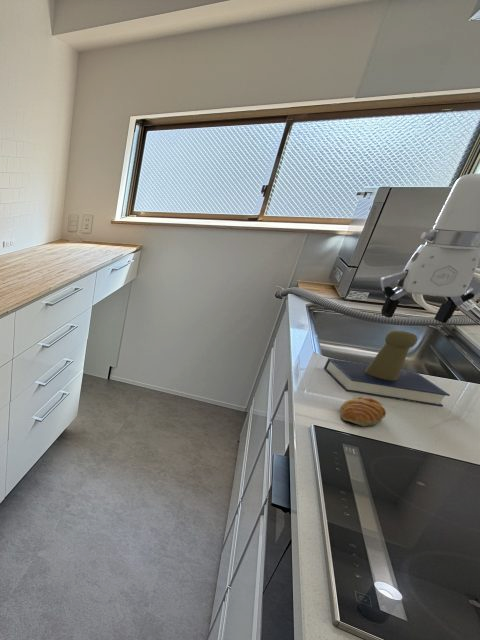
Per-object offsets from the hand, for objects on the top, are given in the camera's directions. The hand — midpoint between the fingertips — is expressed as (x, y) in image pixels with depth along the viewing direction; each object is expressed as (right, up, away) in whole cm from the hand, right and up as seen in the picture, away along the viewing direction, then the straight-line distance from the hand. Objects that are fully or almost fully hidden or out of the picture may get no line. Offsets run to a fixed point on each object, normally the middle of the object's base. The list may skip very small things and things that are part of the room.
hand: (412, 318), depth 94 cm
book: (0, -15, +8) cm, 17 cm away
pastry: (-19, -22, -7) cm, 30 cm away
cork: (-1, -13, +6) cm, 14 cm away
